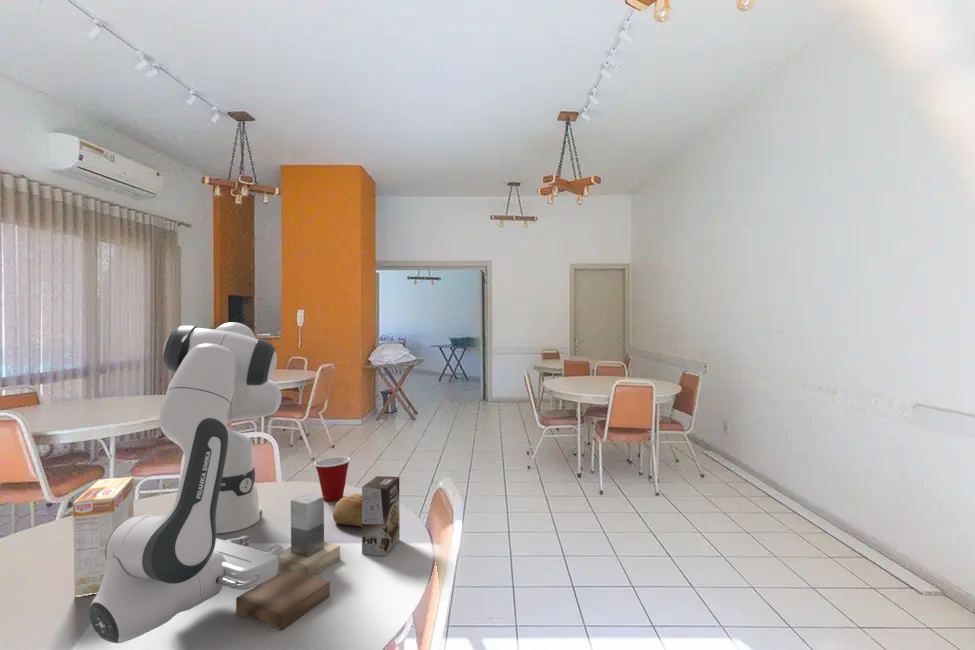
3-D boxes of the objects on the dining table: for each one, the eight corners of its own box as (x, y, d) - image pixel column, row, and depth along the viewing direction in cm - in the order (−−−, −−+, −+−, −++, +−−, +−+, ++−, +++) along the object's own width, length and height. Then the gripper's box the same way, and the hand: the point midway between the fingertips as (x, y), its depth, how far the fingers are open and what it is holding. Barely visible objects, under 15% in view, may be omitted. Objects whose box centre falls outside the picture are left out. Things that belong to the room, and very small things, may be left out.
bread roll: (373, 535, 128) (373, 504, 128) (323, 528, 132) (323, 498, 132) (391, 520, 137) (391, 492, 137) (344, 514, 142) (343, 486, 141)
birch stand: (274, 569, 111) (274, 555, 111) (307, 550, 120) (307, 537, 120) (307, 579, 106) (307, 565, 106) (340, 558, 115) (340, 545, 115)
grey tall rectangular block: (291, 553, 112) (290, 500, 112) (307, 544, 116) (307, 493, 116) (307, 557, 110) (307, 503, 110) (324, 548, 114) (323, 496, 114)
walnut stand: (236, 613, 94) (236, 597, 94) (286, 582, 105) (286, 568, 105) (282, 630, 89) (282, 613, 89) (329, 596, 100) (329, 581, 100)
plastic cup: (331, 490, 161) (330, 453, 161) (357, 495, 157) (357, 457, 157) (306, 501, 151) (306, 462, 151) (334, 507, 147) (333, 466, 147)
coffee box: (386, 556, 116) (386, 488, 116) (360, 554, 118) (360, 486, 117) (400, 539, 125) (400, 476, 125) (377, 537, 127) (376, 474, 126)
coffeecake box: (98, 564, 113) (97, 479, 113) (136, 558, 116) (135, 475, 115) (72, 599, 99) (70, 502, 99) (115, 591, 102) (113, 497, 101)
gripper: (239, 571, 85) (301, 538, 98) (164, 547, 94) (230, 520, 106) (239, 607, 85) (301, 570, 98) (165, 580, 94) (230, 549, 107)
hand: (263, 543), depth 102 cm, fingers open, 8 cm apart
